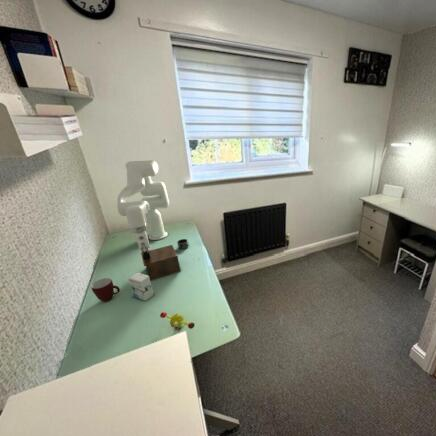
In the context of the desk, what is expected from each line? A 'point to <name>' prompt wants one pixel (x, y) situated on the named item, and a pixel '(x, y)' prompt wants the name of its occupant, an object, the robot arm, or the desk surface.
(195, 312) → the desk surface
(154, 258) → the lid
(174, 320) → the spiky dumbbell toy
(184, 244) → the bowl
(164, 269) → the chest
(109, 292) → the mug
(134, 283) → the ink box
